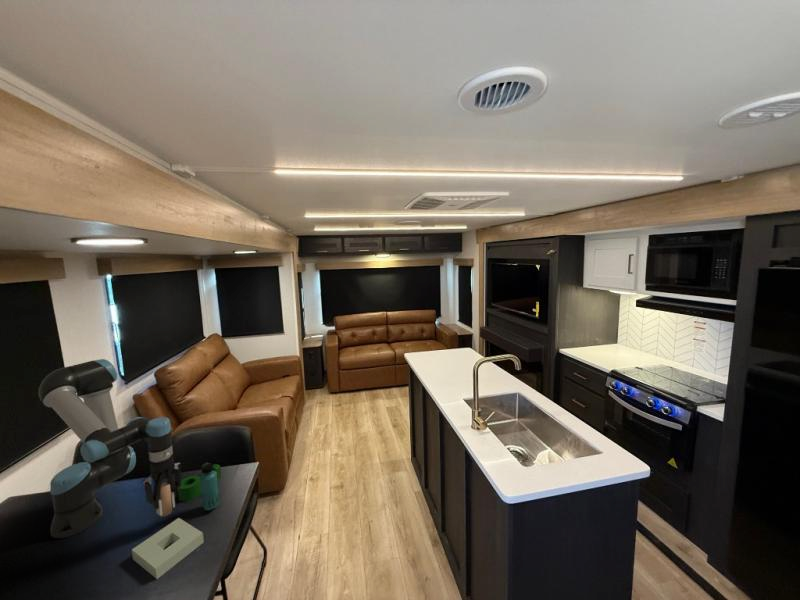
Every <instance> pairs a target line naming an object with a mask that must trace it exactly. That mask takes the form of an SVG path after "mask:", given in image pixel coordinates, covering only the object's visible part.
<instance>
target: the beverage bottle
mask: <svg viewBox="0 0 800 600" xmlns="http://www.w3.org/2000/svg"><path fill="white" fill-rule="evenodd" d="M203 465H204V464H203ZM203 465H202V466H203ZM213 465H214V464H213V463H210V464H206V465H204V466H203V470H202V472H203V474H202V473H201V474H202V476H201V475H200V476H201V477H200V480H201V490H202V493H201V502H202V509H203V510H205V511H211V510H213V509H215V508H216V507H218V506H219V503H220V493H219V489H220V488H219V485H218V484H219V482H218V481H219V480H218V479H217V472H216V471H213V469H214V468H213Z"/></svg>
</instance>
